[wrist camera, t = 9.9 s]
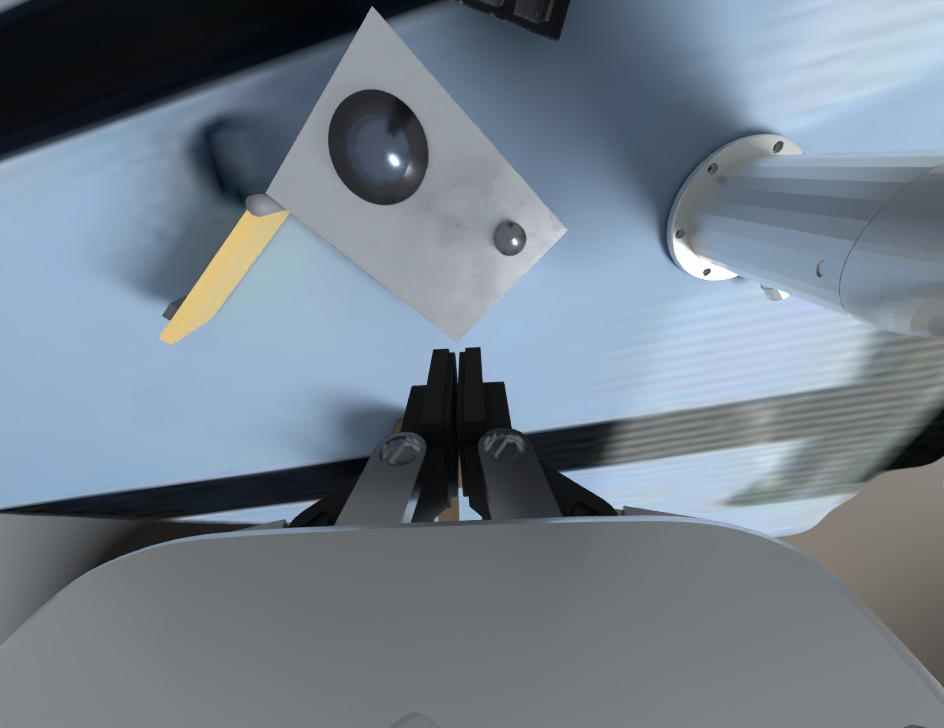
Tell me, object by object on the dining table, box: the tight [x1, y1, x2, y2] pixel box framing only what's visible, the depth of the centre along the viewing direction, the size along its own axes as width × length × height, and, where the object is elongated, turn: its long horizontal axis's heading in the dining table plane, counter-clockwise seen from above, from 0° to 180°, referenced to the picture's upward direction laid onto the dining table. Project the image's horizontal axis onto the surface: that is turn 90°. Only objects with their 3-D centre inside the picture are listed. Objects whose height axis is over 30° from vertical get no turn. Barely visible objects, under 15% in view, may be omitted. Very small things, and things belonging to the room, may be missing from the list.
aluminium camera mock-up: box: [266, 6, 567, 343], centre depth 27 cm, size 18×13×8 cm
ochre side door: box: [159, 193, 290, 345], centre depth 29 cm, size 16×2×7 cm, turn 133°
